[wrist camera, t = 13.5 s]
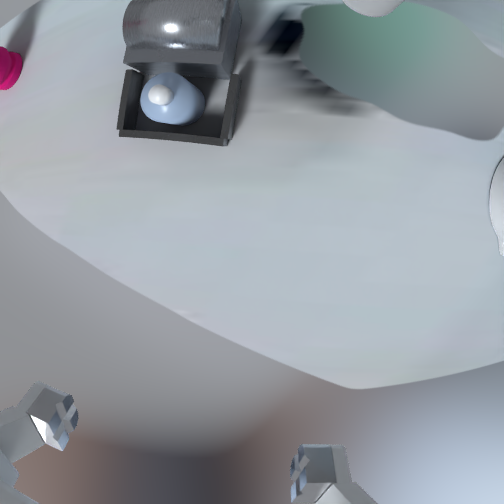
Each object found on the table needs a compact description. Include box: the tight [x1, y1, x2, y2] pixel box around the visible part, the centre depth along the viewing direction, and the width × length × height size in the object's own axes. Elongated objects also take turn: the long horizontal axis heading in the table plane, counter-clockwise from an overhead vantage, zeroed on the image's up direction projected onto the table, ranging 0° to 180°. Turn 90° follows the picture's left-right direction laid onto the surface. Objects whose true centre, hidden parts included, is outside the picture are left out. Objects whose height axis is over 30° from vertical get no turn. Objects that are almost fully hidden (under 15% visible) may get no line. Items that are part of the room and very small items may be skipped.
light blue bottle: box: [141, 72, 205, 126], centre depth 27 cm, size 5×5×9 cm
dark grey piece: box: [117, 0, 242, 146], centre depth 26 cm, size 13×16×10 cm
